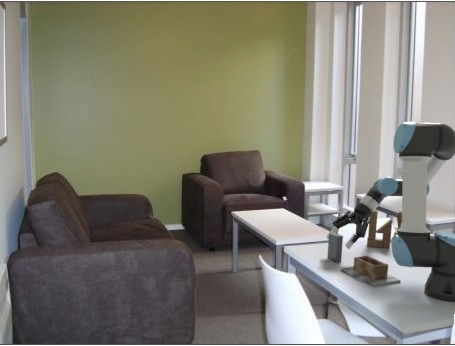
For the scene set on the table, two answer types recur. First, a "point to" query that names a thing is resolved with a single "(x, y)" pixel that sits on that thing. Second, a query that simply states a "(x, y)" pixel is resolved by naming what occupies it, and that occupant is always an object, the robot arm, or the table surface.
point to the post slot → (370, 271)
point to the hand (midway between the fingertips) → (337, 242)
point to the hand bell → (399, 220)
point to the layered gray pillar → (335, 247)
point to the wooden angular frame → (383, 229)
